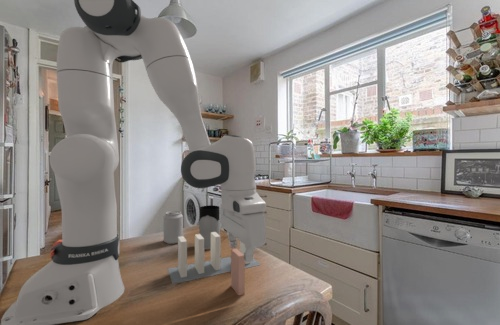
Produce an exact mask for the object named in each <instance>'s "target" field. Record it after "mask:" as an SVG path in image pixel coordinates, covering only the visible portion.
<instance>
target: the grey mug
mask: <svg viewBox="0 0 500 325" xmlns="http://www.w3.org/2000/svg"><path fill="white" fill-rule="evenodd" d="M220 219H221V218H220V206H219V205H210V204H209V205H202V206H200V207H199V219H198V223H199V224H198V229H199V231H198V232H199V233H198V234H200V235H201V236H202V237H203V238H204V250H211V232H216V233H217V234H219V235H220V236H221V221H220Z"/></svg>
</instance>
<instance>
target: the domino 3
mask: <svg viewBox="0 0 500 325" xmlns="http://www.w3.org/2000/svg"><path fill="white" fill-rule="evenodd" d="M221 238H222V237H221V234H220V235H219V234H217V233H216V232H211V249H210V260H211V265H212V267H213V268H214V269H215V270H220V269H221V258H222V257H221V255H222V254H221V252H222V250H221V242H222V240H221Z"/></svg>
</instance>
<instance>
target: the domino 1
mask: <svg viewBox="0 0 500 325" xmlns="http://www.w3.org/2000/svg"><path fill="white" fill-rule="evenodd" d="M187 265H188V241H187V239H186V237H185V236H184V235H183V236H181V237H178V243H177V267H178V271H179V274H180V276H181V278H182V277H187Z"/></svg>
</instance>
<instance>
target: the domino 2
mask: <svg viewBox="0 0 500 325" xmlns="http://www.w3.org/2000/svg"><path fill="white" fill-rule="evenodd" d="M204 262H205V249H204V238H203V237H202V236H201V235H200V234H199V233H196V234H194V263H195V268H196V270H197V272H198V273H199V274H201V273H204Z"/></svg>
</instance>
